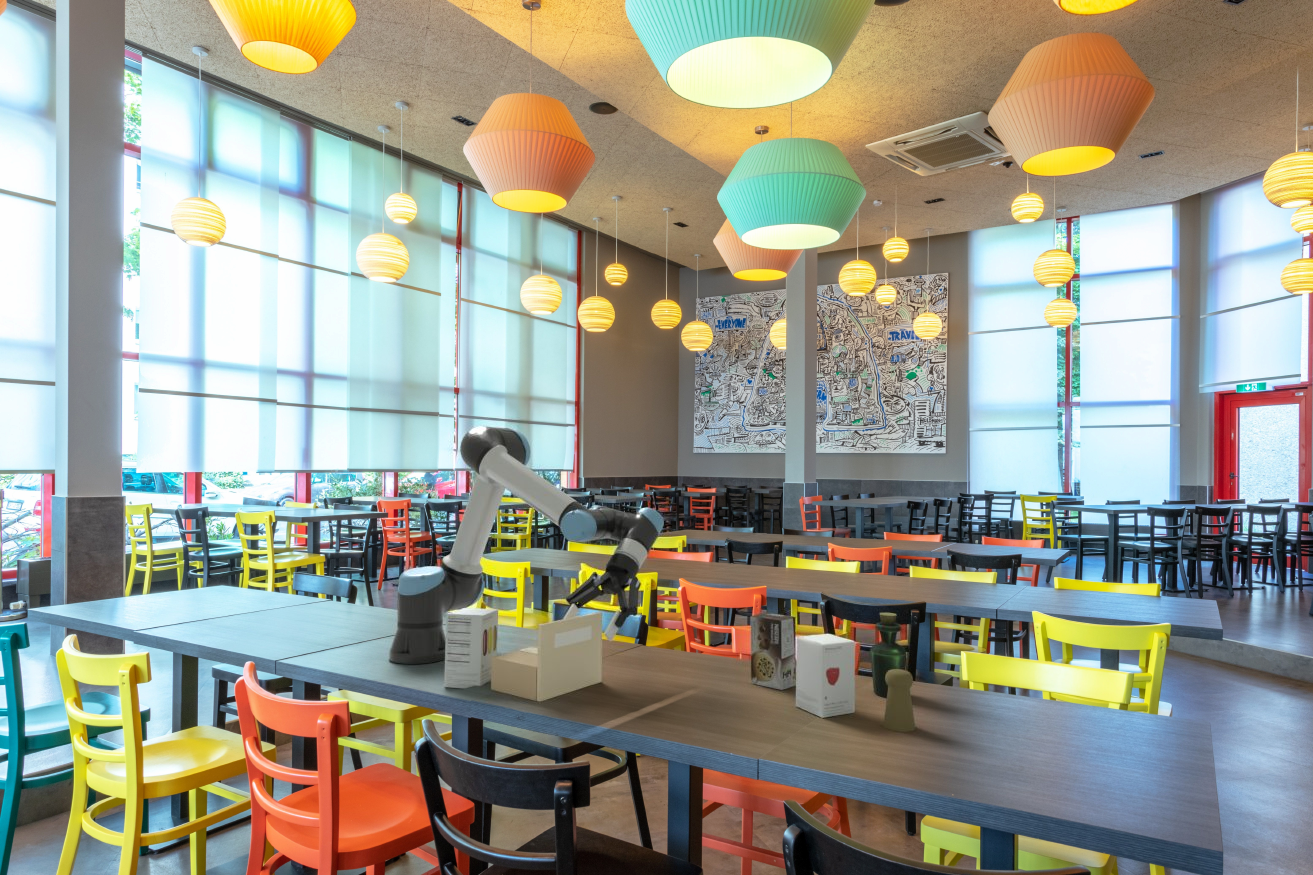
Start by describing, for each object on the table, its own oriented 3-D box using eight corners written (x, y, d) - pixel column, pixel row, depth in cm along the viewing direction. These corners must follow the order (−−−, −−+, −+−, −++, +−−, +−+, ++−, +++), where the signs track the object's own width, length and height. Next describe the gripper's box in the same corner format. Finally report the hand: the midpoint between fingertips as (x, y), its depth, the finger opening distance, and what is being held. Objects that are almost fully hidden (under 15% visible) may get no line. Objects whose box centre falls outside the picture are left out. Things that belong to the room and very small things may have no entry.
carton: (490, 693, 170) (491, 656, 170) (553, 675, 186) (553, 641, 186) (535, 705, 161) (536, 666, 162) (597, 685, 177) (598, 649, 178)
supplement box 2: (822, 718, 154) (822, 644, 155) (794, 706, 162) (794, 635, 163) (856, 712, 159) (856, 640, 159) (828, 701, 166) (828, 632, 167)
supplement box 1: (480, 690, 172) (482, 615, 173) (442, 687, 174) (444, 613, 175) (497, 679, 181) (499, 608, 182) (461, 677, 183) (463, 606, 184)
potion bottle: (873, 687, 178) (873, 609, 179) (909, 691, 175) (909, 612, 176) (866, 695, 171) (866, 615, 172) (904, 700, 167) (903, 618, 168)
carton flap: (536, 700, 161) (538, 624, 162) (598, 680, 177) (599, 611, 178) (540, 701, 160) (542, 625, 161) (601, 681, 177) (603, 612, 177)
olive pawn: (911, 733, 146) (910, 675, 146) (879, 727, 149) (879, 671, 150) (918, 725, 151) (918, 669, 152) (888, 719, 154) (887, 664, 155)
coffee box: (797, 685, 179) (797, 616, 180) (781, 690, 174) (781, 619, 175) (765, 678, 185) (765, 611, 186) (749, 683, 181) (749, 614, 182)
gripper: (674, 575, 180) (634, 651, 167) (594, 567, 195) (552, 636, 182) (661, 555, 176) (620, 630, 163) (580, 548, 191) (537, 617, 178)
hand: (584, 633), depth 173 cm, fingers open, 13 cm apart
